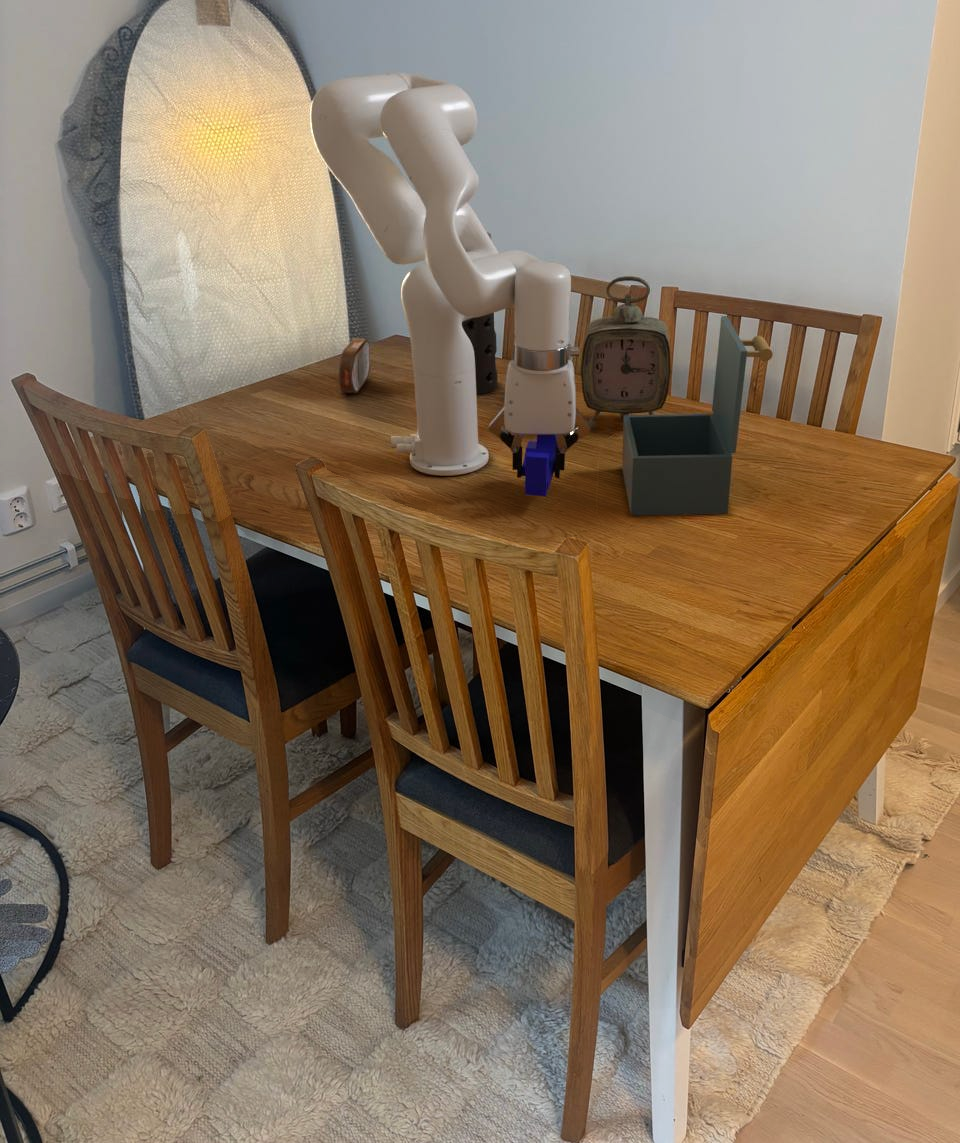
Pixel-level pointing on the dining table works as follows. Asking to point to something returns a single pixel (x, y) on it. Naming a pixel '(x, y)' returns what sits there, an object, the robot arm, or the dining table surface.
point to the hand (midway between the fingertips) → (538, 472)
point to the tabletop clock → (625, 360)
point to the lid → (733, 378)
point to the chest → (675, 465)
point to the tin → (354, 365)
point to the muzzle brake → (483, 350)
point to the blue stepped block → (539, 465)
